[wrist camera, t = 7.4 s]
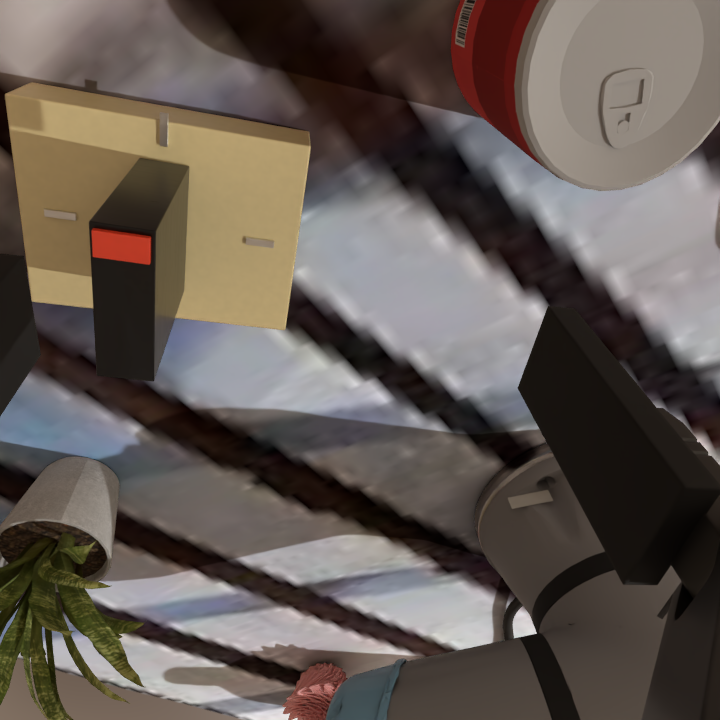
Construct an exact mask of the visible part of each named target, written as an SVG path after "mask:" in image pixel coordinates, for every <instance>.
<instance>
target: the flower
mask: <svg viewBox="0 0 720 720" xmlns="http://www.w3.org/2000/svg"><path fill="white" fill-rule="evenodd" d="M347 679H348V678H346V674H345V672H343V671H342V668H337V667H336V665H335V666H333V663H330V664H327V663H323V664H320V663H319V664H318V663H317V664H316V665H315V666H309V669H308V670H306V672H303V673H302V674H301V677H300V680H299V681H297V683H296V689H295V690H294V692H293V693H292V695H291V696H289V697H288V698H287V700H288V701H287V702H286V703H285V704H283V705H282V706H283V707H286V708H285V710H284V712H283V714H288V713H290V716H289V719H288V720H292V719H294V718H297V717H298V720H326V716H327V712H328V708H329V706H330V703H331V700H332V698H333V696H334V694H335V692H336V691H337V689H338V688H339V686H340V685H341V684H342V683H343V682H344V681H345V680H347Z"/></svg>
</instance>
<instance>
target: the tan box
mask: <svg viewBox="0 0 720 720" xmlns="http://www.w3.org/2000/svg"><path fill="white" fill-rule="evenodd" d="M5 100H6V108H7V116H8V123H9V131H10V139H11V147H12V154H13V162H14V170H15V177H16V185H17V193H18V200H19V208H20V216H21V223H22V231H23V239H24V246H25V254H26V262H27V270H28V277H29V285H30V293H31V300H32V301H33V302H41V303H49V304H58V305H67V306H76V307H85V308H93V294H92V275H91V256H90V237H89V221H90V220H91V218H92V217H93V216H94V214H95V213H96V212H97V211H98V209H99V208H100V207H101V206H102V204H103V203H104V202H105V201H106V199H107V198H108V197H109V196H110V194H111V193H112V192H113V191H114V189H115V188H116V187H117V186H118V184H119V183H120V182H121V181H122V179H123V178H124V177H125V176H126V174H127V173H128V172H129V171H130V169H131V168H132V167H133V166H134V164H135V163H136V162H137V161H138V159H139V158H144V159H150V160H156V161H162V162H168V163H174V164H180V165H185V166H189V189H188V213H187V237H186V261H185V284H184V293H183V296H182V299H181V302H180V305H179V308H178V311H177V314H176V317H175V318H182V319H190V320H199V321H208V322H217V323H226V324H234V325H243V326H252V327H261V328H270V329H278V330H285V328H286V321H287V314H288V307H289V300H290V293H291V285H292V278H293V271H294V264H295V257H296V250H297V243H298V236H299V228H300V221H301V214H302V207H303V200H304V193H305V186H306V179H307V171H308V164H309V157H310V150H311V145H310V135H309V132H308V131H303V130H297V129H292V128H286V127H280V126H275V125H269V124H263V123H258V122H252V121H247V120H241V119H235V118H230V117H224V116H218V115H213V114H207V113H201V112H196V111H190V110H185V109H179V108H173V107H168V106H162V105H156V104H151V103H145V102H139V101H134V100H128V99H123V98H117V97H111V96H106V95H100V94H94V93H89V92H83V91H77V90H72V89H66V88H61V87H55V86H49V85H44V84H38V83H32V82H31V83H28V84H26V85H24V86H22V87H19V88H17V89H15V90H13V91H10V92H8V93H6V94H5Z"/></svg>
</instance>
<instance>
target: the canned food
mask: <svg viewBox="0 0 720 720" xmlns="http://www.w3.org/2000/svg"><path fill="white" fill-rule="evenodd" d="M451 56H452V65H453V71H454V74H455V77H456V81H457V84H458V87H459V88H460V90H461V92H462V94H463V96H464V98H465V100H466V101H467V102H468V103H469V104H470V106H471V107H472V108H473V109H474V110H475V112H477V113H478V114H479V115H480V116H481V117H483V118H484V119H485V120H486V121H488V122H489V123H490V124H491V125H492V126H494V127H495V128H496V129H497V130H498V131H500V132H501V133H502V134H503V135H504V136H506V137H507V138H508V139H509V140H510V141H512V142H513V143H514V144H515V145H517V146H518V147H519V148H520V149H521V150H523V151H524V152H525V153H526V154H527V155H529V156H530V157H531V158H532V159H534V160H535V161H536V162H538V163H539V164H540V165H541V166H543V167H544V168H545V169H547V170H549V171H550V172H551V173H552V174H554V175H555V176H556V177H558V178H560V179H562V180H565V181H567V182H569V183H572V184H574V185H576V186H579V187H581V188H586V189H592V190H598V191H608V190H622V189H625V188H629V187H633V186H637V185H641V184H643V183H645V182H647V181H650V180H652V179H654V178H656V177H658V176H661V175H662V174H664V173H665V172H667V171H668V170H670V169H671V168H673V167H674V166H676V165H677V164H679V163H680V162H681V161H683V160H684V159H685V158H686V157H687V156H688V155H689V154H690V153H692V152H693V151H694V150H695V149H696V148H697V147H698V146H699V145H700V144H701V143H702V142H703V141H704V139H705V138H706V137H707V136H708V135H709V134H710V132H711V131H712V130H713V129H714V128H715V126H716V125H717V123H718V122H719V120H720V0H460V3H459V6H458V8H457V11H456V14H455V19H454V24H453V29H452V38H451Z"/></svg>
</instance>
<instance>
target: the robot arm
mask: <svg viewBox="0 0 720 720" xmlns="http://www.w3.org/2000/svg"><path fill="white" fill-rule="evenodd" d="M40 355H41V353H40V348H39V342H38V336H37V330H36V325H35V319H34V313H33V307H32V302H31V296H30V290H29V285H28V279H27V273H26V267H25V262H24V256H17V255H6V254H0V416H1V414H2V413H3V411H4V410H5V408H6V407H7V405H8V404H9V402H10V401H11V399H12V398H13V396H14V395H15V393H16V392H17V390H18V389H19V387H20V386H21V384H22V382H23V381H24V379H25V378H26V376H27V375H28V373H29V372H30V370H31V369H32V367H33V366H34V364H35V363H36V361H37V360H38V358H39V357H40ZM518 390H519V391H520V393H521V395H522V397H523V399H524V401H525V403H526V405H527V406H528V408H529V410H530V412H531V414H532V416H533V418H534V419H535V421H536V423H537V425H538V427H539V429H540V431H541V433H542V434H543V436H544V438H545V440H546V442H547V443H546V444H544V445H541V446H539V447H537V448H534V449H532V450H530V451H528V452H527V453H525V454H523V455H521V456H520V457H518V458H517V459H515V460H513V461H512V462H511V463H509V464H508V465H507V466H505V467H504V468H503V469H502V470H501V471H500V472H499V473H498V474H497V475H496V476H495V477H494V478H493V479H492V480H491V481H490V482H489V484H488V485H487V486H486V488H485V489H484V491H483V492H482V494H481V496H480V498H479V500H478V503H477V506H476V510H475V515H474V525H475V530H476V533H477V536H478V540H479V543H480V546H481V548H482V551H483V552H484V554H485V556H486V558H487V560H488V561H489V563H490V564H491V565H492V566H493V567H494V569H495V570H496V571H497V572H498V573H499V574H500V575H501V577H502V578H503V579H504V581H505V582H506V584H507V585H508V586H509V588H510V589H511V590H512V592H513V593H514V594H515V596H516V598H515V599H514V600H513V601H512V602H511V603H510V605H509V606H508V608H507V609H506V612H505V615H504V620H503V629H504V637H505V641H501V642H496V643H491V644H487V645H482V646H477V647H473V648H468V649H463V650H458V651H454V652H449V653H444V654H440V655H435V656H430V657H425V658H421V659H416V660H411V661H407V660H405V659H400V660H397V661H396V662H395V664H393V665H390V666H386V667H382V668H379V669H375V670H371V671H368V672H364V673H360V674H357V675H354V676H352V677H350V678H348V679H347V680H345V681H344V682H343V683H342V684H341V685H340V686H339V688H338V689H337V691H336V692H335V694H334V696H333V698H332V700H331V703H330V706H329V708H328V712H327V716H326V720H720V465H719V464H718V463H717V462H716V461H715V460H714V458H713V457H712V456H708V451H707V450H706V449H705V448H704V447H703V446H702V444H701V443H700V442H697V439H696V437H695V436H694V435H693V434H692V433H691V432H690V430H689V429H688V428H687V427H686V426H685V425H684V424H683V423H682V422H681V421H680V420H678V419H677V418H675V417H674V416H673V415H671V414H670V413H669V412H667V411H666V410H665V409H663V408H656V407H655V405H654V404H653V403H652V402H651V401H650V399H649V398H648V397H647V396H646V395H645V393H644V392H643V391H642V390H641V388H640V387H639V386H638V385H637V384H636V382H635V381H634V380H633V379H632V378H631V376H630V375H629V374H628V373H627V372H626V370H625V369H624V368H623V367H622V366H621V364H620V363H619V362H618V361H617V359H616V358H615V357H614V356H613V355H612V353H611V352H610V351H609V350H608V349H607V347H606V346H605V345H604V344H603V343H602V341H601V340H600V339H599V338H598V337H597V335H596V334H595V333H594V332H593V331H592V329H591V328H590V327H589V326H588V324H587V323H586V322H585V321H584V320H583V318H582V317H581V316H580V315H579V314H578V312H577V311H576V310H575V309H573V308H562V307H552V306H548V308H547V311H546V313H545V316H544V319H543V321H542V324H541V327H540V330H539V332H538V335H537V338H536V340H535V343H534V346H533V348H532V351H531V354H530V357H529V359H528V362H527V365H526V367H525V370H524V373H523V375H522V378H521V381H520V384H519V386H518ZM522 606H524V607H525V609H526V610H527V611H528V613H529V614H530V616H531V619H532V621H533V624H534V626H535V629H536V632H537V634H534V635H529V636H524V637H519V638H515V639H514V636H513V626H512V624H513V618H514V616H515V614H516V612H517V611H518V610H519V609H520V608H521V607H522Z"/></svg>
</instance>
